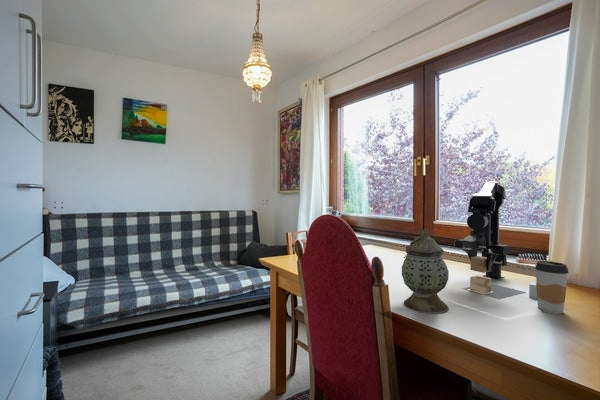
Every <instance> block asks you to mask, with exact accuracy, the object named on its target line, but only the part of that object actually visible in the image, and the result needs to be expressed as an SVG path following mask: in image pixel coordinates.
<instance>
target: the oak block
mask: <svg viewBox="0 0 600 400" xmlns="http://www.w3.org/2000/svg"><path fill="white" fill-rule="evenodd" d="M491 284H492V278H488V277H483V275H479V274H478V275H473V276H470V277H469V287H470V290H472V291H476V292H480V293H487V292H491Z"/></svg>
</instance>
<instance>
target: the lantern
mask: <svg viewBox="0 0 600 400" xmlns="http://www.w3.org/2000/svg"><path fill="white" fill-rule="evenodd" d="M413 238H414V239H413V241H411V242H410V244H409V245H407V246H405V250H406V251H405V253H406V254H405V256H403V259H404V260H403V262H402V265H401V277H402V280H403V283H404V285H405V286H406V287H407V288H408V289H409V290H410V291H411V292H412V294H411V295H410V296H409V297H408V298H406V299H405V300H404V301H403V303H404V305H403V306H405V307H406V308H407V309H409V310H410V311H411V310H412V311H414V312H417V313H423V314H428V315H429V314H430V315H440V314H445V313H448V311H449V306H448V305H447V304H446V302H444V300H442V299H441V298H440V297H439V294H438V293H440V292H441V291H442V290H444V289H445V288H446V285H447V283H448V281H449V274H450V273H449V269H448V266H447V264H446V262H445V261H444V259H443V258H442V256H443V255H444V252H445V251H444V249H443V248H442V247H441V246H440V245H439V244H438V243H437V242H436V240H435V239H434V238H433V237H431V236H430V232H429V230H427V229H422V230H421V231H420V234H419V236H416V237H413Z"/></svg>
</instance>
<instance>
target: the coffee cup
mask: <svg viewBox="0 0 600 400" xmlns="http://www.w3.org/2000/svg"><path fill="white" fill-rule="evenodd" d="M534 266H535V267H534V269H535V282H536V289H537V298H536V300H537V307H538V309H540V310H541V311H542V312H543V313H544V312H546V313H549V314H554V315H555V314H556V315H561V314H563V312H565V303H566V297H567V296H566V295H567V294H566V293H567V283H568V281H567V280H568V274H569V268H568V267H567V264H566V263H561V262H557V261H548V260H547V261H546V260H537V261H536V264H535V265H534Z"/></svg>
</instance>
